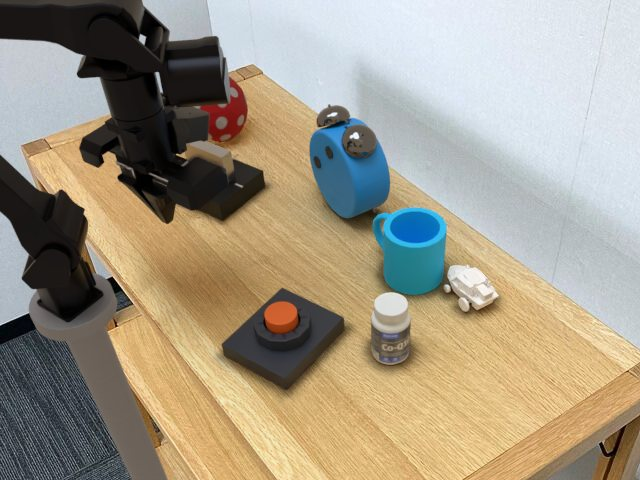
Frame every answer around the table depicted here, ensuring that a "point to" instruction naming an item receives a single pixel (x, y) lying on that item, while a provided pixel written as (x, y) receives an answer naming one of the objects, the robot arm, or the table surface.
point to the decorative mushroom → (227, 115)
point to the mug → (412, 249)
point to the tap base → (236, 191)
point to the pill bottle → (390, 328)
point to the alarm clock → (348, 163)
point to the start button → (281, 317)
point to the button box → (284, 340)
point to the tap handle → (212, 156)
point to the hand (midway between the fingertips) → (168, 221)
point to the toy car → (470, 287)
